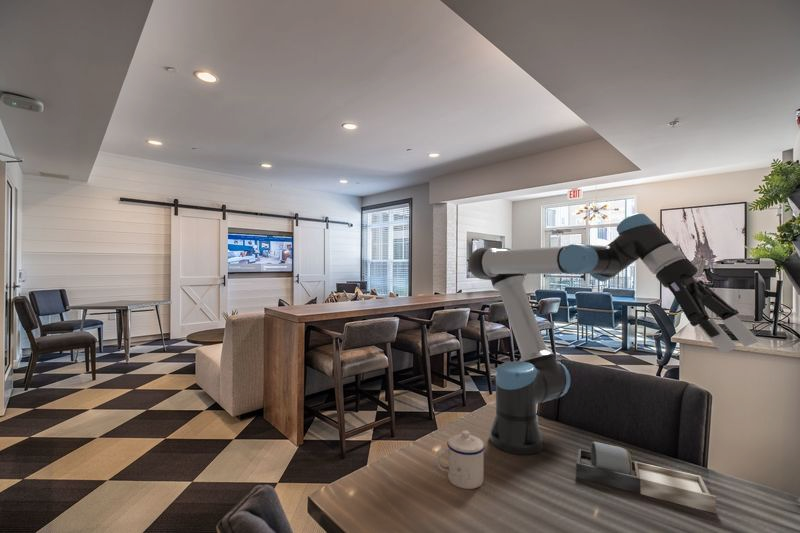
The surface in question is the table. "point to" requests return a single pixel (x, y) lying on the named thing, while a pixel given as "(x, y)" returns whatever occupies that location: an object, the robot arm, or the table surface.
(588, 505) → the table surface
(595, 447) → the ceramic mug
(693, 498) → the box
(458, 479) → the teacup with lid
